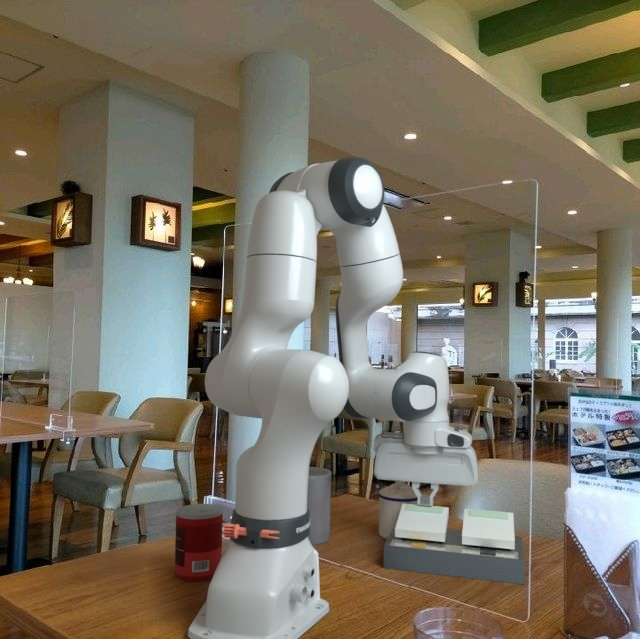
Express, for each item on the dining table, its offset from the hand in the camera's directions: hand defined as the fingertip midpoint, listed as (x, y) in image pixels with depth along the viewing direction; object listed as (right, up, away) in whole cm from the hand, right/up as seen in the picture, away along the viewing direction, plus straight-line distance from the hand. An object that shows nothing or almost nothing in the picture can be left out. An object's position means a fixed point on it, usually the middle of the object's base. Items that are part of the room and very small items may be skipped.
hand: (425, 505), depth 122 cm
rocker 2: (+10, -2, -7) cm, 13 cm away
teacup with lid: (-5, -9, +10) cm, 14 cm away
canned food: (-42, -8, -15) cm, 45 cm away
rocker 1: (-1, -2, -4) cm, 5 cm away
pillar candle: (-23, -9, +6) cm, 26 cm away
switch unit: (+4, -9, -7) cm, 12 cm away
